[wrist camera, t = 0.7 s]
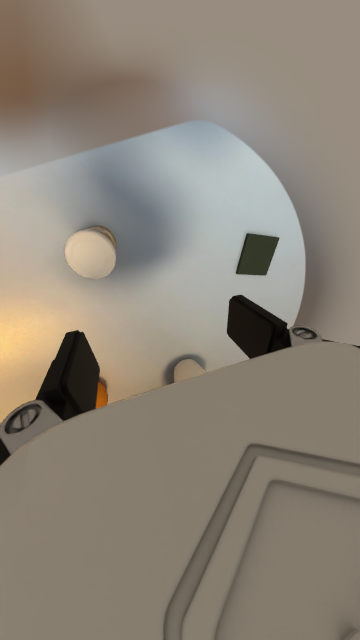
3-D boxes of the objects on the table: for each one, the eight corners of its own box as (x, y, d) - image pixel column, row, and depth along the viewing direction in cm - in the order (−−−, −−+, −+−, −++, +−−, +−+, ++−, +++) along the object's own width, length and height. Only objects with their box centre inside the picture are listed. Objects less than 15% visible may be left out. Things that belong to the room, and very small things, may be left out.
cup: (209, 349, 48) (238, 389, 37) (201, 380, 54) (223, 423, 42) (166, 353, 44) (183, 400, 32) (162, 386, 49) (175, 436, 38)
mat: (246, 233, 35) (248, 233, 34) (277, 237, 37) (279, 237, 37) (235, 273, 38) (237, 274, 38) (264, 274, 41) (266, 275, 40)
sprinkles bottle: (116, 256, 30) (117, 280, 18) (86, 255, 28) (68, 279, 17) (115, 226, 27) (114, 233, 16) (82, 223, 26) (57, 227, 15)
